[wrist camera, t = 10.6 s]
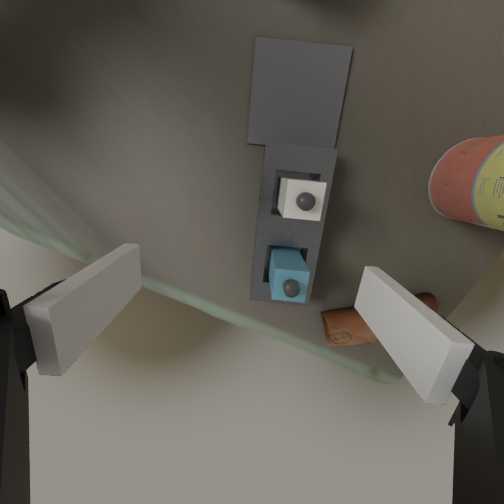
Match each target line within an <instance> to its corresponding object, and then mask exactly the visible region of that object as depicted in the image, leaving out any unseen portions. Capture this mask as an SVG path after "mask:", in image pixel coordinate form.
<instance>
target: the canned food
mask: <svg viewBox="0 0 504 504" xmlns="http://www.w3.org/2000/svg"><path fill="white" fill-rule="evenodd" d="M428 196H429V200H430V203H431V205H432V206H433V208H434V209H435V210H436V211H437V212H438V213H439V214H440V215H442V216H443V217H446V218H449V219H453V220H459V221H463V222H468V223H472V224H476V225H480V226H484V227H488V228H493V229H497V230H501V231H504V135H497V136H490V137H484V138H483V137H481V138H472V139H468V140H465V141H462V142H460V143H458V144H456V145H455V146H453V147H452V148H450V149H449V150H448V151H447V152H446V153H445V154H444V155H443V156H442V157H441V158H440V159H439V160H438V162H437V163H436V165H435V167H434V168H433V170H432V173H431V175H430V179H429V183H428Z"/></svg>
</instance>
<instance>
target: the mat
mask: <svg viewBox="0 0 504 504" xmlns="http://www.w3.org/2000/svg"><path fill="white" fill-rule="evenodd" d="M352 49H353V47H351V46H342V45H333V44H323V43H314V42H304V41H295V40H285V39H276V38H267V37H257V36H255V48H254V60H253V73H252V85H251V98H250V110H249V123H248V135H247V143H248V144H258V145H265V143H266V142H272V143H282V144H292V145H302V146H312V147H322V148H332V149H334V147H335V142H336V136H337V131H338V125H339V120H340V115H341V109H342V104H343V98H344V93H345V87H346V82H347V76H348V71H349V65H350V60H351V55H352Z"/></svg>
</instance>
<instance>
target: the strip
mask: <svg viewBox="0 0 504 504" xmlns="http://www.w3.org/2000/svg"><path fill="white" fill-rule="evenodd" d="M337 154H338V149H332V148H322V147H312V146H302V145H292V144H282V143H272V142H266V143H265V149H264V159H263V169H262V179H261V189H260V199H259V209H258V219H257V228H256V238H255V248H254V258H253V268H252V278H251V288H250V300H257V301H268V302H279V303H290V304H300V305H309V302H310V297H311V292H312V287H313V281H314V276H315V271H316V265H317V260H318V255H319V249H320V244H321V239H322V233H323V228H324V223H325V217H326V212H327V207H328V202H329V196H330V191H331V186H332V180H333V175H334V170H335V164H336V159H337ZM279 177H284V178H294V179H304V180H312V181H318V182H324V183H327V185H326V190H325V196H324V201H323V207H322V212H321V218H320V221H313V220H303V219H293V218H283V217H282V215H281V213H280V211H279V210H278V208H277V206H276V202H277V194H278V186H279ZM271 245H276V246H287V247H297V249H298V250H299V252H300V254H301V256H302V258H303V260H304V262H305V264H306V265H307V267H308V269H309V271H310V275H309V280H308V286H307V291H306V297H305V302H294V301H283V300H272V299H271V291H270V282H269V274H268V263H269V255H270V247H271Z"/></svg>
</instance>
